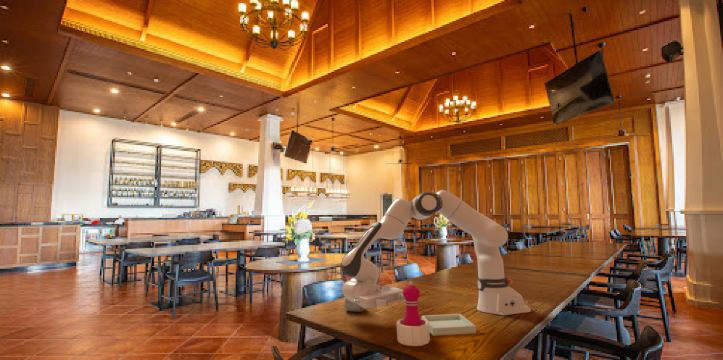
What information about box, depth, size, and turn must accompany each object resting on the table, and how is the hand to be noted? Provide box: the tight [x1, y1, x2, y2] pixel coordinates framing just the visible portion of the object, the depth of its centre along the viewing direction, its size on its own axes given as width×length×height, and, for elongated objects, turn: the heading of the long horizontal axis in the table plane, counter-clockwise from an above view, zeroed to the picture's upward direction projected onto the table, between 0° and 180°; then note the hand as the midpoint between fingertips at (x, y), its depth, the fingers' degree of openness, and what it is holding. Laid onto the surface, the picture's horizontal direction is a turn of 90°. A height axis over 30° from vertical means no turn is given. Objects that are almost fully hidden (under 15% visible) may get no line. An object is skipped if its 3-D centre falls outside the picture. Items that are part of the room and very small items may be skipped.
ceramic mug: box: [344, 298, 365, 313], centre depth 160 cm, size 11×8×8 cm
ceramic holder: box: [396, 317, 431, 347], centre depth 119 cm, size 11×11×6 cm
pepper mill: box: [402, 280, 423, 326], centre depth 120 cm, size 7×7×20 cm
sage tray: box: [421, 313, 477, 337], centre depth 132 cm, size 16×16×2 cm
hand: (396, 301), depth 126 cm, fingers open, 8 cm apart
